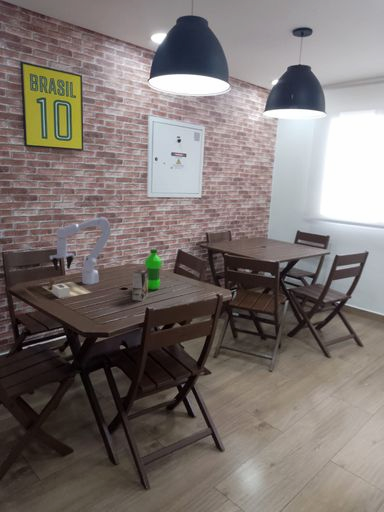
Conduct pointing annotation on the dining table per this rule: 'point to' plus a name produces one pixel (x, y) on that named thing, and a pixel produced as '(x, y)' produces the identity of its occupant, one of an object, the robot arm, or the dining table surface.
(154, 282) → the plastic bottle
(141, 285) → the coffee box
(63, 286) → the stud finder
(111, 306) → the dining table surface
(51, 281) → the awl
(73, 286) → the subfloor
